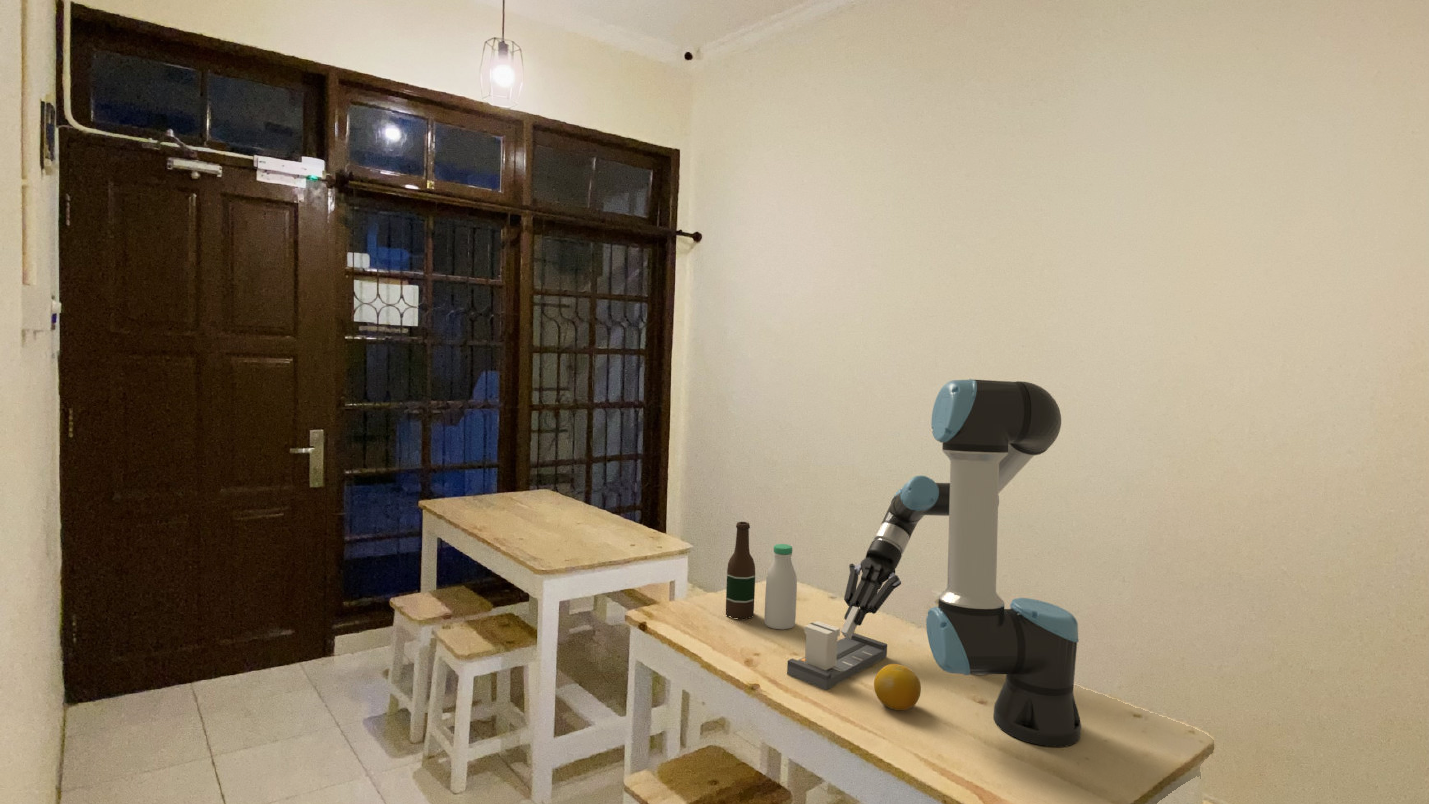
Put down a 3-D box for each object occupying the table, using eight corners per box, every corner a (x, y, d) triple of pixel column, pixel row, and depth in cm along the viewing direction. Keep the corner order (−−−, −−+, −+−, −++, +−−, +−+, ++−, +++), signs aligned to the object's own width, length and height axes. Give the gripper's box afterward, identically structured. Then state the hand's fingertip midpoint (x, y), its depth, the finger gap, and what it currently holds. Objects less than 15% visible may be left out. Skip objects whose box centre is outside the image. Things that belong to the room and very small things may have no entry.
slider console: (848, 643, 179) (849, 631, 179) (886, 656, 172) (887, 644, 172) (787, 674, 162) (787, 660, 161) (826, 690, 155) (826, 675, 155)
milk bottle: (799, 629, 187) (803, 549, 185) (769, 631, 185) (773, 550, 183) (789, 618, 194) (792, 541, 193) (760, 619, 192) (763, 542, 191)
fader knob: (815, 656, 165) (817, 620, 165) (838, 665, 161) (840, 628, 161) (802, 662, 162) (804, 625, 161) (825, 671, 158) (827, 633, 157)
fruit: (921, 702, 151) (924, 663, 150) (916, 720, 144) (919, 679, 143) (876, 693, 154) (879, 655, 154) (869, 710, 147) (872, 670, 146)
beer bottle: (759, 612, 197) (762, 521, 195) (747, 622, 190) (751, 528, 188) (731, 607, 201) (734, 517, 199) (719, 616, 193) (723, 523, 191)
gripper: (917, 562, 177) (877, 652, 166) (868, 550, 186) (826, 635, 175) (908, 544, 173) (865, 635, 162) (858, 532, 181) (814, 618, 170)
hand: (845, 635), depth 168 cm, fingers closed
